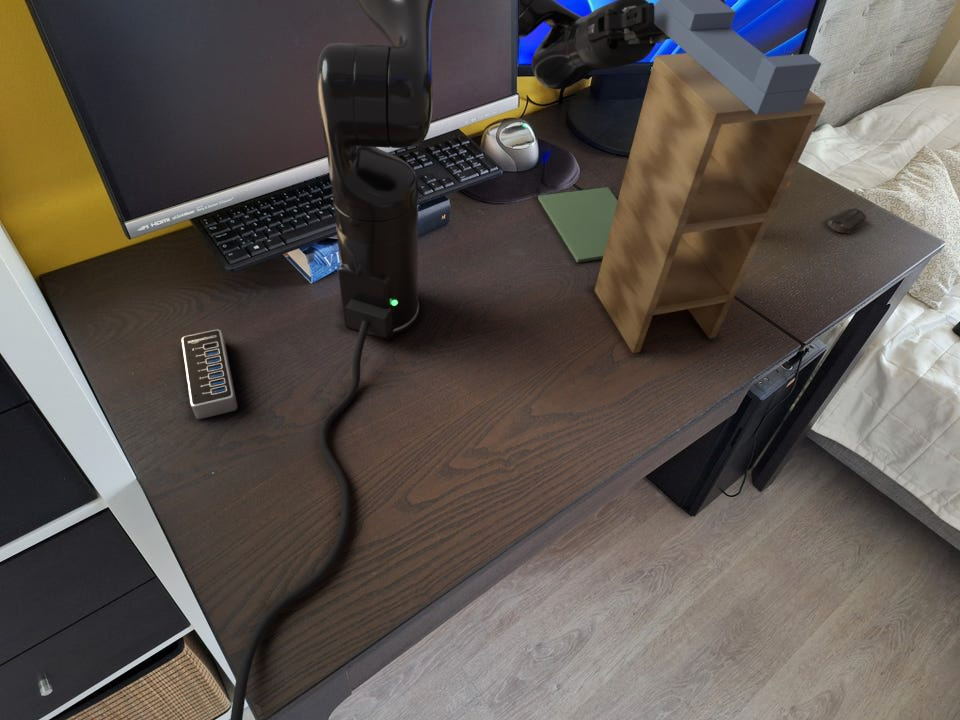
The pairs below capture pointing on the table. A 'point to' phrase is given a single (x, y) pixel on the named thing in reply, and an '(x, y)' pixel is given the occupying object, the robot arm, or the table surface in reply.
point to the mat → (582, 220)
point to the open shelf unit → (695, 198)
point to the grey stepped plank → (736, 56)
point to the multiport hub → (208, 374)
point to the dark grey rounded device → (847, 220)
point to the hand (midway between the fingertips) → (687, 11)
